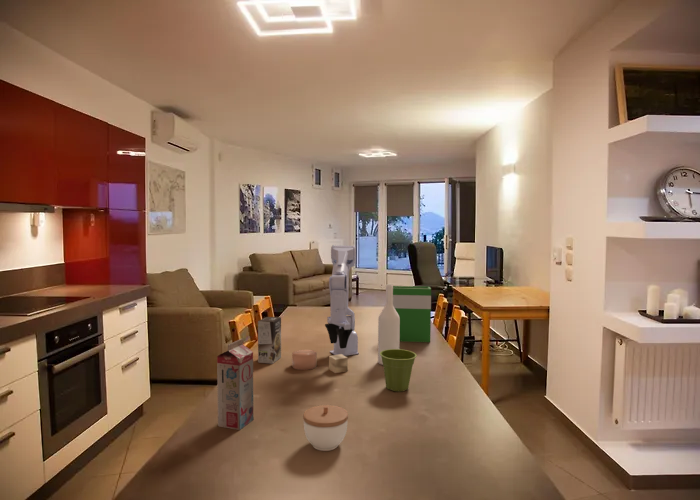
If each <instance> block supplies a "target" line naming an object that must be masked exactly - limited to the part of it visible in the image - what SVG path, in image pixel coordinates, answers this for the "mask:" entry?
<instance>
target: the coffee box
mask: <svg viewBox="0 0 700 500" xmlns="http://www.w3.org/2000/svg"><path fill="white" fill-rule="evenodd" d="M257 326H258V327H257V363H260V364H270V365H272V364H274V363H276V362H277V361H278V360H280V359H281V358H282V317H281V316H266V317H264V318H262V319H260V320H258V321H257Z"/></svg>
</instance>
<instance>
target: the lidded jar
mask: <svg viewBox="0 0 700 500" xmlns="http://www.w3.org/2000/svg"><path fill="white" fill-rule="evenodd" d="M302 417H303V418H302V419H303V428H304V429H303V431H304V435H305V438H306V439H307V441H308V442H309V443H310V444H311V446H312V447H313V448H314V449H315V450H317V451H321V452H329V451H333V450H336V449H337V448H338V447H339V445H340V444H341V443H342V442H343V441H344V439H345V437H346V435H347V431H348V419H349V412H348V411H347V410H346V409H345V408H343V407H341V406H337V405H331V404H321V405H315V406H312V407H309V408H307V409H306V410H304V412H303V416H302Z"/></svg>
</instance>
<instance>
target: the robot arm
mask: <svg viewBox="0 0 700 500" xmlns="http://www.w3.org/2000/svg"><path fill="white" fill-rule="evenodd" d="M356 253H357V252H356V246H355V244H354V245H336V244H335V245H334V244H332V246H330V259H331V263H332V271H331V272H332V273H331V276H329V279H328V288H329V289H328V290H329V296H330V316H327V318H326V319H327V320H326V321H327V323H325V324H324V327H325V329H326V331H327V333H328V336H329V337H328V338H329V342H330V344H333V350H329V353H331V354H333V355H339V354H342V355H344V356H346V357H348V356H352V355H353V356H354V355H358V354H359V346H358V344H359V337H358V333H357V332H356V331H355V329H356V316H355V312H354V310H352V309H351V308H350V307H349V290H350V289H349V288H350V287H349V284H350V283H349V281H350V280H349V279H350V272H351V268H353V267H355V264H356Z"/></svg>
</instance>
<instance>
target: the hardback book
mask: <svg viewBox="0 0 700 500" xmlns="http://www.w3.org/2000/svg"><path fill="white" fill-rule="evenodd" d="M393 306H394V308H395V310H396V311H397V313H398V315H399V318H400V339H399V342H404V343H405V342H408V343H409V342H410V343H411V342H412V343H413V342H414V343H431V332H432V331H431V328H432V327H431V325H432V324H431V323H432V321H431V319H432V288H431V286H421V285H420V286H417V285H416V286H415V285H414V286H413V285H410V286H407V285H393Z"/></svg>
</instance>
